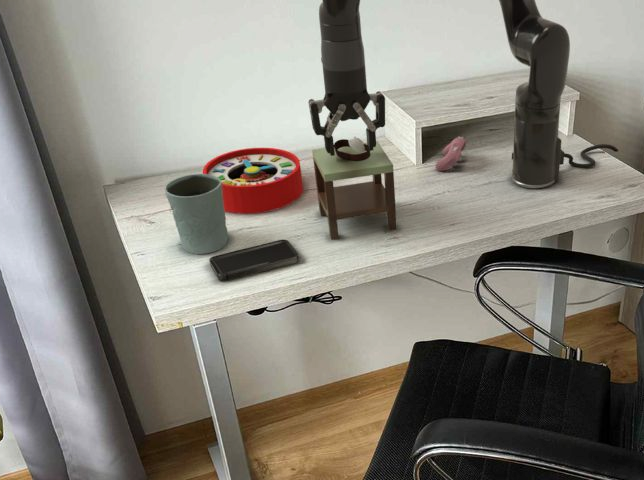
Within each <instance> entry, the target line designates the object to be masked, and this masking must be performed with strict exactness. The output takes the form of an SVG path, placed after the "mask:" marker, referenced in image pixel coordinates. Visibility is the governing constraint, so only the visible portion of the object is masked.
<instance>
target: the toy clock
mask: <svg viewBox="0 0 644 480" xmlns="http://www.w3.org/2000/svg"><path fill="white" fill-rule="evenodd" d="M202 174H209V175H213V176H216V177H218V178H220V180H221V182H222V190H223V204H224V209H225V213H230V214H239V215H241V214H242V215H250V214H251V215H253V214H262V213H266V212H272V211H276V210H279V209H283V208H285V207H287V206H289V205H291V204H293V203H295V202H296V201H297V200H298V199H299V198H300V197H301V196H302V194H303V193H304V184H303V183H304V182H303V176H302V167H301V161H300V159H299V157H298V156H297V155H295V154H294V153H292V152H290V151H288V150H284V149H280V148H276V147H275V148H274V147H249V148H242V149H235V150H232V151H227V152H225V153H222V154H220V155H217V156H216V157H214V158H212V159H210V160H209V161H208V162H206V164H205V165H204V167H202Z"/></svg>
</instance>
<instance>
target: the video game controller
mask: <svg viewBox="0 0 644 480" xmlns="http://www.w3.org/2000/svg"><path fill="white" fill-rule="evenodd" d="M467 143H468V140H467V139H466V138H465V137H463V136H461V137H460V136H459V135H458V137H455V138H454V139H453V140H452V141H451V142H450V143H449V144H447V145H446V146H445V147H444V148H443V150H442V154H443V155H444V156H443V157H442V158H441V159H439V160H438V161H436V163H435V170H436V171H438V172H443V171H446V170H449V169H450V168H454V166H455V165H456V164H457V162H462V160H463V156H462V152H463V151H464V150H465V148H466V146H467Z"/></svg>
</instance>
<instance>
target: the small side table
mask: <svg viewBox="0 0 644 480" xmlns="http://www.w3.org/2000/svg"><path fill="white" fill-rule="evenodd" d="M363 143H364V144H367V142H363ZM338 151H340V152H341V151H342V152H344V153H349V154H361V153H359V152H356V151H355V150H353V149H352V148H351V147H341V148H339V149H338ZM334 152H335V149H334ZM364 152H366V151H363V152H362V153H364ZM311 153H312V160H313V161H312V162H313V168H314V178H315V187H316V194H317V202H318V211H319V215H320V216H321V217H323V216H326V217H327V224H328V232H329V237H330V239H331V240H332V241H334V240H338V239H339V238H340V235H339V226H338V225H339V224H338V220H345V219H352V218H357V217H364V216H372V215H377V214H378V215H379V214H383V213H386V226H387V230H388V231H396V230H397V229H398V228H397V210H396V191H395V190H396V189H395V171H394V164H393V162H392V160H391V159H390V158H389V156H388V155H387V153H386V151H385V150H384V148H383V147H382V145H380V143H379V141H378V140H376V147H373V150H372V151H370V154H371V155H370V157H369V158H368V159H366V160H363V161H350V160H348V161H347V160H343V159H342V158H340V157H338V156H337V155H336V152H335V155H334V156H331V155H330V153H327V151H326V149H325V147H323V148H316V149H312V151H311ZM382 174H383V177H384V179H383V180H384V185H383V182H382V181H383V180H382ZM369 176H372V181H365V182H358V183H351V184H346V185H339V186H334V182H335V181H341V180H349V179H354V178H361V177H369ZM339 240H340V239H339Z"/></svg>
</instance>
